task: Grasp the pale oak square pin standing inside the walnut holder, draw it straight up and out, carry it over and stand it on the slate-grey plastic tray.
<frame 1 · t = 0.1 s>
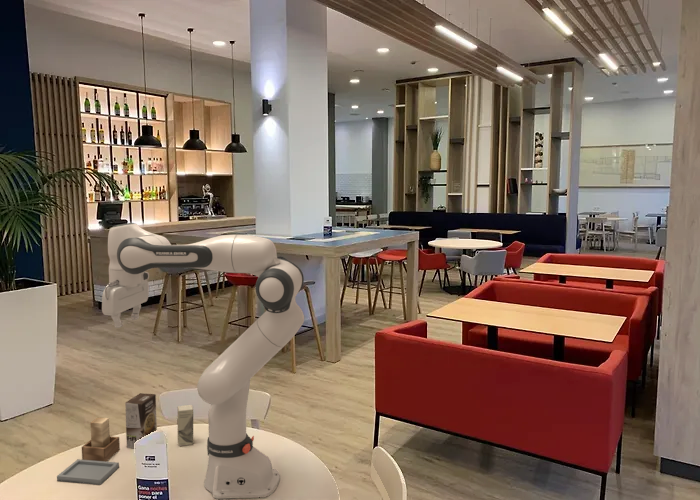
hand: (127, 323, 160), 48 cm above the table, fingers open, 8 cm apart
box: (185, 443, 186), on the table
coffee box: (142, 442, 186), on the table
tray: (88, 474, 165), on the table
pin: (100, 437, 176), in the holder
holder: (101, 454, 177), on the table
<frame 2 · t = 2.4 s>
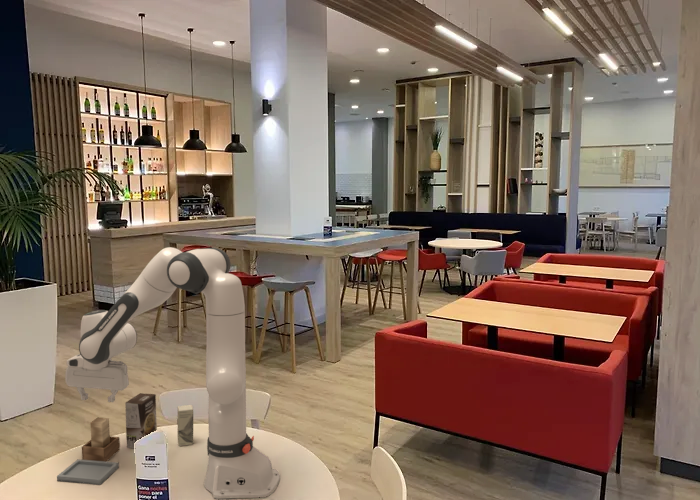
hand: (98, 400, 175), 19 cm above the table, fingers open, 8 cm apart
nothing on the table moved.
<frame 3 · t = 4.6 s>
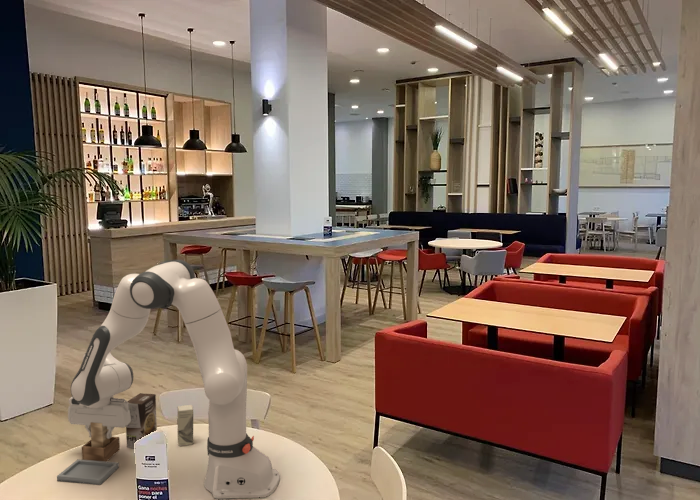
hand: (100, 437, 176), 6 cm above the table, fingers closed on pin, 4 cm apart
pin: (100, 437, 176), in the holder, touching gripper
everything else where it was.
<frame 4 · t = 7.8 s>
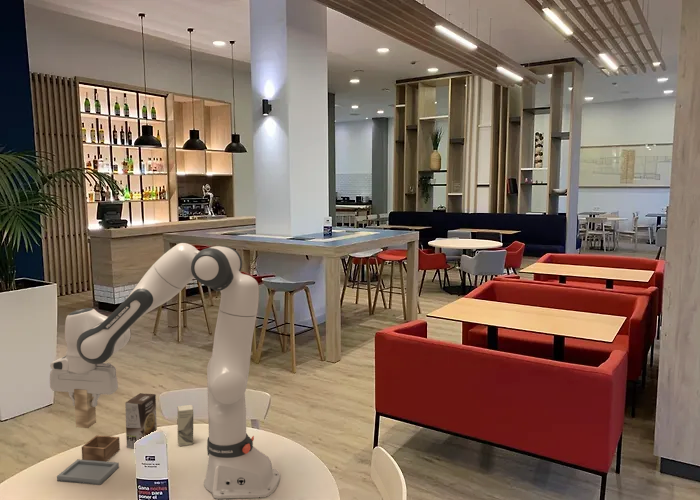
hand: (85, 405, 163), 22 cm above the table, fingers closed on pin, 4 cm apart
pin: (85, 406, 163), point 22 cm above the table, touching gripper
everything else where it was.
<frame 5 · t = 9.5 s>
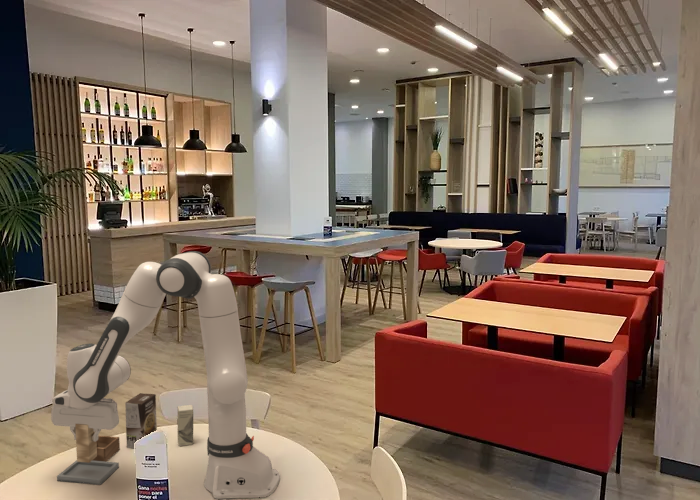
hand: (86, 439, 164), 11 cm above the table, fingers closed on pin, 4 cm apart
pin: (86, 440, 164), point 11 cm above the table, touching gripper
everything else where it was.
when the fingers open (8 cm above the table, at t = 11.0 s): pin drops 1 cm, resting on tray.
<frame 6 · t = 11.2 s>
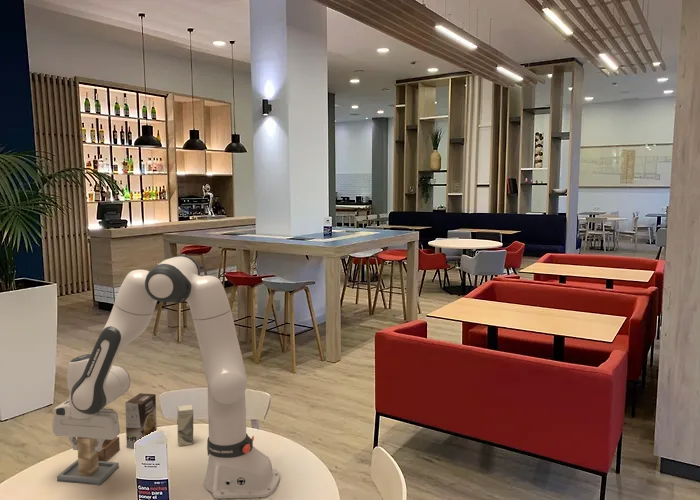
hand: (87, 450, 164), 8 cm above the table, fingers open, 6 cm apart
pin: (88, 454, 164), in the tray, point 7 cm above the table
everything else where it was.
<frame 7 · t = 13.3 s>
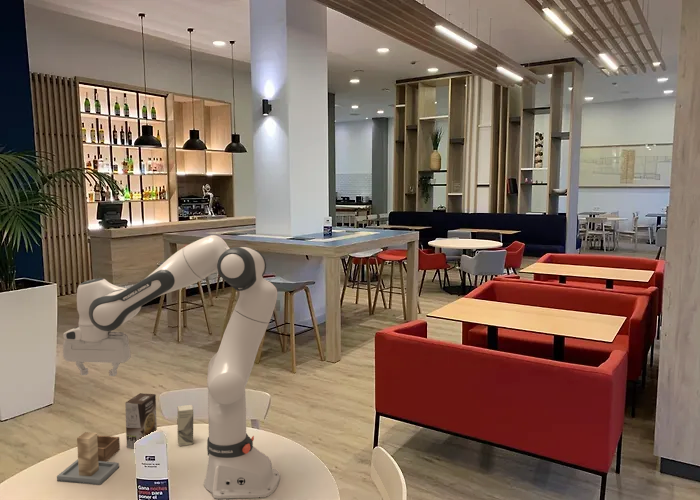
hand: (98, 375, 165), 31 cm above the table, fingers open, 8 cm apart
nothing on the table moved.
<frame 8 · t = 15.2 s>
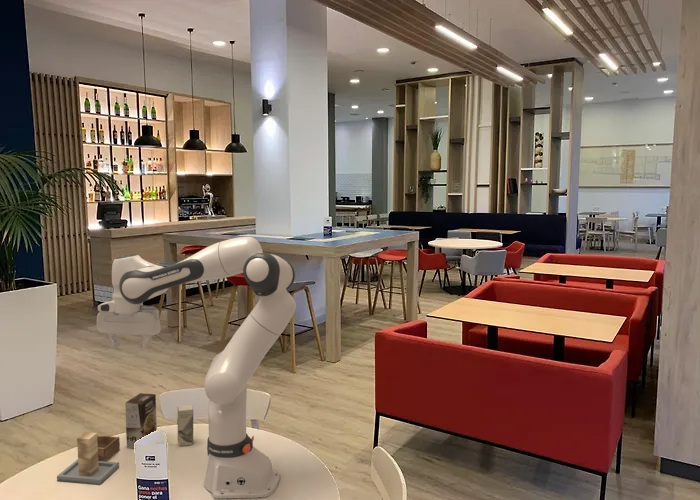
hand: (129, 347, 172), 37 cm above the table, fingers open, 8 cm apart
nothing on the table moved.
at the end: pin 0.1 cm from the tray (horizontally); pin tilted 0°; the gripper is holding nothing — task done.
